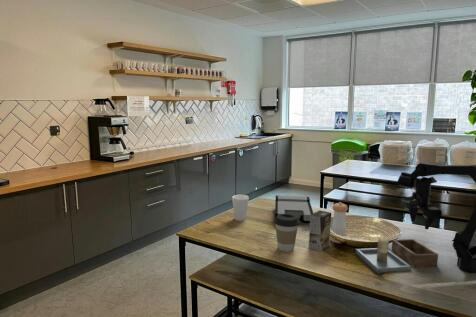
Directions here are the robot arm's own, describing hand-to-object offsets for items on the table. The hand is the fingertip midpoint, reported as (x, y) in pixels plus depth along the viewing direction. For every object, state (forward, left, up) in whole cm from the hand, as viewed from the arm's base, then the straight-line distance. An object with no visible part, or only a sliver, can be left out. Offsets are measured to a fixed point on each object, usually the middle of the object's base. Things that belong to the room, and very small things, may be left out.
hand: (419, 225), depth 151 cm
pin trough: (-6, +6, -13) cm, 16 cm away
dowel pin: (-7, +21, -12) cm, 25 cm away
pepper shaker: (+18, +29, -13) cm, 37 cm away
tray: (-7, +21, -13) cm, 26 cm away
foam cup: (+54, +72, -13) cm, 91 cm away
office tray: (+55, +40, -14) cm, 70 cm away
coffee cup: (+12, +57, -13) cm, 60 cm away
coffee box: (+12, +41, -13) cm, 45 cm away
